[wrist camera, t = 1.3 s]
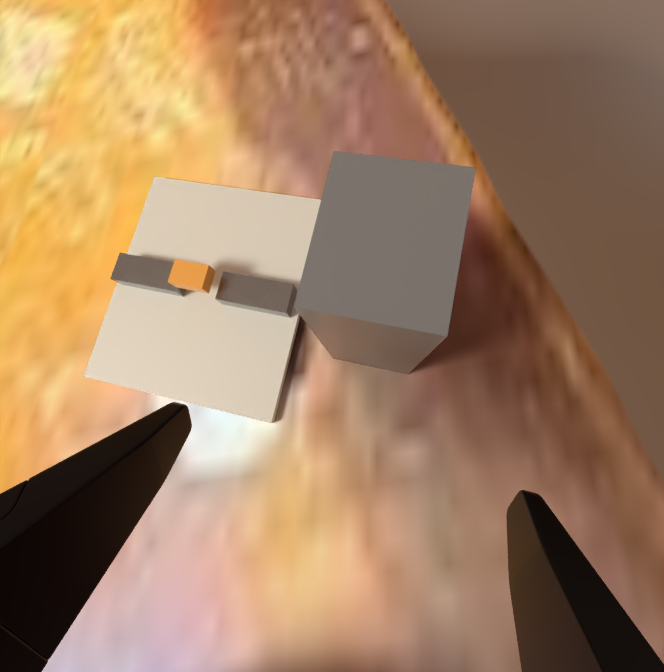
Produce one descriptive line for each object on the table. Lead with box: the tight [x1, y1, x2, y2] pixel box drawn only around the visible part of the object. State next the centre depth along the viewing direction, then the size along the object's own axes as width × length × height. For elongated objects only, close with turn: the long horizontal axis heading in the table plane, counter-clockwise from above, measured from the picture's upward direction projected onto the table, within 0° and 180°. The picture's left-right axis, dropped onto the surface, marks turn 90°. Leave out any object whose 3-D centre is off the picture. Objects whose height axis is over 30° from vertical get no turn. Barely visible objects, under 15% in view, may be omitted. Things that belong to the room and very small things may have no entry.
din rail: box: [111, 253, 297, 318], centre depth 24 cm, size 2×13×1 cm, turn 77°
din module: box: [294, 151, 476, 374], centre depth 17 cm, size 6×5×12 cm
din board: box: [84, 177, 321, 423], centre depth 25 cm, size 16×14×1 cm
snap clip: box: [168, 259, 216, 294], centre depth 23 cm, size 2×2×1 cm
